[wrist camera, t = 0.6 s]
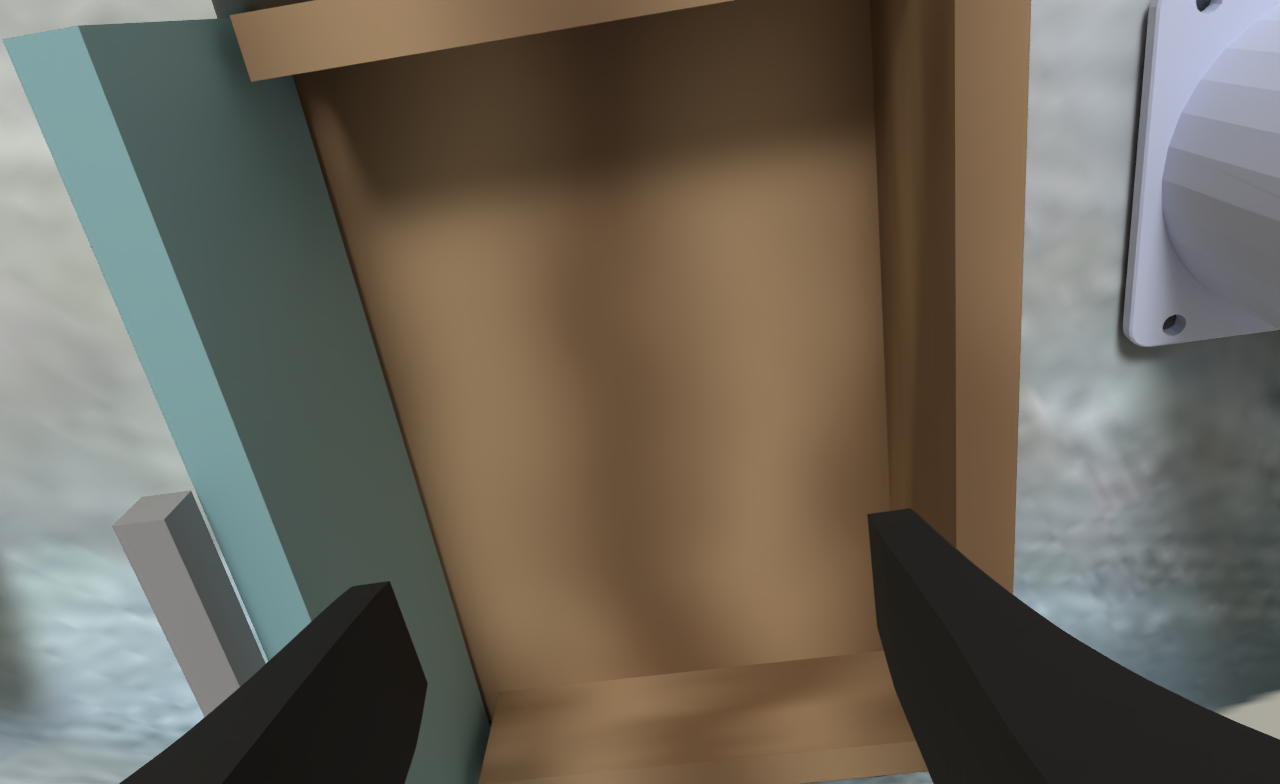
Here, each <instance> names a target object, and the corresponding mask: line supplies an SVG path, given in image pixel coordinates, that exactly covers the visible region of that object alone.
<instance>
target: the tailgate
mask: <svg viewBox="0 0 1280 784" xmlns="http://www.w3.org/2000/svg"><path fill="white" fill-rule="evenodd" d="M2 40H3V42H4V45H5V47H6V49H7V52H8V54H9V56H10V59H11V61H12V63H13V66H14V68H15V70H16V73H17V75H18V77H19V80H20V82H21V84H22V87H23V89H24V91H25V94H26V96H27V98H28V101H29V103H30V105H31V108H32V110H33V112H34V115H35V117H36V119H37V122H38V124H39V126H40V129H41V131H42V133H43V136H44V138H45V140H46V143H47V145H48V147H49V150H50V152H51V154H52V157H53V159H54V161H55V164H56V166H57V168H58V171H59V173H60V175H61V178H62V180H63V182H64V185H65V187H66V189H67V192H68V194H69V196H70V199H71V201H72V203H73V206H74V208H75V210H76V213H77V215H78V217H79V220H80V222H81V224H82V227H83V229H84V231H85V234H86V236H87V238H88V241H89V243H90V245H91V248H92V250H93V252H94V255H95V257H96V259H97V262H98V264H99V266H100V269H101V271H102V273H103V276H104V278H105V280H106V283H107V285H108V287H109V290H110V292H111V294H112V297H113V299H114V301H115V304H116V306H117V308H118V311H119V313H120V315H121V318H122V320H123V322H124V325H125V327H126V329H127V332H128V334H129V336H130V339H131V341H132V343H133V346H134V348H135V350H136V353H137V355H138V357H139V360H140V362H141V364H142V367H143V369H144V371H145V374H146V376H147V378H148V381H149V383H150V385H151V388H152V390H153V392H154V395H155V397H156V399H157V402H158V404H159V406H160V409H161V411H162V414H163V416H164V418H165V421H166V423H167V425H168V428H169V430H170V432H171V435H172V437H173V439H174V442H175V444H176V446H177V449H178V451H179V453H180V456H181V458H182V460H183V463H184V465H185V467H186V470H187V472H188V474H189V477H190V479H191V481H192V484H193V486H194V488H195V491H196V493H197V495H198V498H199V500H200V502H201V505H202V507H203V509H204V512H205V514H206V516H207V519H208V521H209V523H210V526H211V528H212V530H213V533H214V535H215V537H216V540H217V542H218V544H219V547H220V549H221V551H222V554H223V556H224V558H225V561H226V563H227V565H228V568H229V570H230V572H231V575H232V577H233V579H234V582H235V584H236V586H237V589H238V591H239V593H240V596H241V598H242V600H243V603H244V605H245V607H246V610H247V612H248V614H249V617H250V619H251V621H252V624H253V626H254V628H255V631H256V633H257V635H258V638H259V640H260V642H261V645H262V647H263V649H264V652H265V654H266V656H267V659H268V661H269V660H271V659H272V658H273V657H274V656H275V655H276V654H277V653H278V652H279V651H280V650H281V649H282V648H284V647H285V646H286V645H287V644H288V643H289V642H290V641H291V640H292V639H293V638H294V637H295V636H296V635H298V634H299V633H300V632H301V631H302V630H303V629H304V628H305V627H306V626H307V625H308V624H309V623H310V622H312V621H313V620H314V619H315V618H316V617H317V616H318V615H319V614H320V613H321V612H322V611H323V610H325V609H326V608H327V607H328V606H329V605H330V604H331V603H332V602H334V601H335V600H336V599H337V598H338V597H339V596H340V595H342V594H343V593H344V592H345V591H347V590H348V589H349V588H350V587H352V586H358V585H365V584H372V583H379V582H386V581H390V583H391V585H392V588H393V591H394V593H395V596H396V599H397V601H398V604H399V607H400V610H401V612H402V615H403V618H404V620H405V623H406V626H407V628H408V631H409V634H410V637H411V639H412V642H413V645H414V647H415V650H416V653H417V655H418V658H419V661H420V663H421V666H422V669H423V672H424V674H425V677H426V680H427V682H428V686H427V692H426V698H425V704H424V710H423V716H422V721H421V726H420V731H419V736H418V741H417V746H416V749H415V752H414V756H413V759H412V762H411V765H410V768H409V772H408V775H407V778H406V781H405V784H478V783H479V779H480V774H481V770H482V765H483V761H484V757H485V752H486V748H487V743H488V739H489V734H490V730H491V728H490V725H489V722H488V718H487V715H486V712H485V708H484V705H483V702H482V698H481V695H480V692H479V689H478V685H477V682H476V679H475V675H474V672H473V669H472V666H471V662H470V659H469V656H468V652H467V649H466V646H465V642H464V639H463V636H462V633H461V629H460V626H459V623H458V619H457V616H456V613H455V610H454V606H453V603H452V600H451V596H450V593H449V590H448V586H447V583H446V580H445V577H444V573H443V570H442V567H441V563H440V560H439V557H438V554H437V550H436V547H435V544H434V540H433V537H432V534H431V530H430V527H429V524H428V521H427V517H426V514H425V511H424V507H423V504H422V501H421V498H420V494H419V491H418V488H417V484H416V481H415V478H414V474H413V471H412V468H411V465H410V461H409V458H408V455H407V451H406V448H405V445H404V442H403V438H402V435H401V432H400V428H399V425H398V422H397V419H396V415H395V412H394V409H393V405H392V402H391V399H390V395H389V392H388V389H387V386H386V382H385V379H384V376H383V372H382V369H381V366H380V363H379V359H378V356H377V353H376V349H375V346H374V343H373V339H372V336H371V333H370V330H369V326H368V323H367V320H366V316H365V313H364V310H363V307H362V303H361V300H360V297H359V293H358V290H357V287H356V283H355V280H354V277H353V274H352V270H351V267H350V264H349V260H348V257H347V254H346V251H345V247H344V244H343V241H342V237H341V234H340V231H339V227H338V224H337V221H336V218H335V214H334V211H333V208H332V204H331V201H330V198H329V195H328V191H327V188H326V185H325V181H324V178H323V175H322V171H321V168H320V165H319V162H318V158H317V155H316V152H315V148H314V145H313V142H312V139H311V135H310V132H309V129H308V125H307V122H306V119H305V115H304V112H303V109H302V106H301V102H300V99H299V96H298V92H297V89H296V86H295V83H294V79H293V76H292V75H288V76H282V77H277V78H271V79H265V80H259V81H253V82H251V80H250V77H249V74H248V71H247V68H246V65H245V61H244V58H243V55H242V52H241V49H240V46H239V43H238V40H237V37H236V34H235V31H234V27H233V24H232V21H231V18H226V19H206V20H186V21H166V22H146V23H125V24H105V25H85V26H74V27H69V28H63V29H57V30H52V31H46V32H40V33H35V34H29V35H24V36H18V37H12V38H7V39H2ZM112 527H113V529H114V531H115V533H116V535H117V537H118V539H119V541H120V543H121V545H122V547H123V549H124V551H125V554H126V556H127V558H128V560H129V562H130V564H131V566H132V568H133V570H134V572H135V574H136V576H137V578H138V580H139V582H140V584H141V587H142V589H143V591H144V593H145V595H146V597H147V599H148V601H149V603H150V605H151V607H152V609H153V611H154V613H155V615H156V618H157V620H158V622H159V624H160V626H161V628H162V630H163V632H164V634H165V636H166V638H167V640H168V642H169V644H170V646H171V648H172V651H173V653H174V655H175V657H176V659H177V661H178V663H179V665H180V667H181V669H182V671H183V673H184V675H185V677H186V679H187V682H188V684H189V686H190V688H191V690H192V692H193V694H194V696H195V698H196V700H197V702H198V704H199V706H200V708H201V710H202V712H203V715H204V717H206V716H207V715H208V714H209V713H210V712H212V711H213V710H214V709H215V708H216V707H217V706H219V705H220V704H221V703H222V702H223V701H224V700H226V699H227V698H228V697H229V696H230V695H231V694H233V693H234V692H235V691H236V690H237V689H238V688H240V687H241V686H242V685H243V684H244V683H245V682H246V681H248V680H249V679H250V678H251V677H252V676H253V675H254V674H255V673H256V672H258V671H259V670H260V669H261V668H262V667H263V666H264V665H265V661H264V659H263V657H262V654H261V652H260V650H259V648H258V645H257V643H256V641H255V638H254V636H253V634H252V631H251V629H250V627H249V624H248V622H247V620H246V617H245V615H244V613H243V610H242V608H241V606H240V603H239V601H238V599H237V596H236V594H235V592H234V589H233V587H232V585H231V583H230V580H229V578H228V576H227V573H226V571H225V569H224V566H223V564H222V562H221V559H220V557H219V555H218V552H217V550H216V548H215V545H214V543H213V541H212V538H211V536H210V534H209V531H208V529H207V527H206V524H205V522H204V520H203V518H202V515H201V513H200V511H199V508H198V506H197V504H196V501H195V499H194V497H193V494H192V492H191V491H185V492H178V493H170V494H162V495H155V496H147V497H142V498H141V499H140V500H138V501H137V502H136V503H135V504H134V505H133V506H132V507H131V508H130V509H129V510H128V511H127V512H126V513H125V514H124V515H123V516H122V517H121V518H120V519H119V520H118V521H117V522H116V523H115V524H114V525H113V526H112Z"/></svg>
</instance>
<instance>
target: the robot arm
mask: <svg viewBox="0 0 1280 784" xmlns="http://www.w3.org/2000/svg"><path fill="white" fill-rule="evenodd" d="M1175 314H1176V315H1177V319H1176V322H1175V324H1174V325H1173V326H1171V327H1170V328H1168V329H1165V330H1163V324H1164V321H1165V320H1166V319H1167V318H1169V317H1170V316H1173V315H1175ZM1275 330H1280V0H1211V2H1210V4H1209V5H1208V6H1207V8H1206V9H1205V10H1203V11H1201V12H1200V11H1199V10H1198V9H1197V5H1196V0H1151V2H1150V5H1149V13H1148V26H1147V38H1146V50H1145V62H1144V74H1143V86H1142V98H1141V110H1140V123H1139V135H1138V147H1137V159H1136V171H1135V183H1134V195H1133V207H1132V219H1131V232H1130V244H1129V256H1128V268H1127V280H1126V292H1125V304H1124V316H1123V332H1124V334H1125V336H1126V337H1127V338H1128V339H1129V340H1130V341H1131V342H1133V343H1134V344H1136V345H1138V346H1140V347H1154V346H1162V345H1169V344H1177V343H1184V342H1192V341H1200V340H1207V339H1215V338H1222V337H1230V336H1237V335H1245V334H1253V333H1260V332H1268V331H1275ZM867 517H868V528H869V540H870V551H871V563H872V574H873V586H874V598H875V609H876V621H877V628H878V632H879V635H880V639H881V643H882V646H883V650H884V653H885V657H886V661H887V664H888V668H889V671H890V675H891V678H892V682H893V685H894V688H895V691H896V694H897V696H898V698H899V701H900V703H901V706H902V708H903V711H904V713H905V716H906V718H907V721H908V723H909V725H910V728H911V730H912V733H913V735H914V738H915V740H916V742H917V745H918V747H919V750H920V752H921V754H922V757H923V759H924V762H925V764H926V766H927V769H928V771H929V774H930V776H931V778H932V781H933V783H934V784H1280V740H1279V739H1277V738H1274V737H1272V736H1269V735H1267V734H1264V733H1262V732H1259V731H1257V730H1255V729H1252V728H1250V727H1247V726H1245V725H1242V724H1240V723H1237V722H1235V721H1233V720H1231V719H1228V718H1226V717H1224V716H1222V715H1220V714H1217V713H1215V712H1213V711H1211V710H1208V709H1206V708H1204V707H1202V706H1200V705H1198V704H1196V703H1194V702H1192V701H1190V700H1188V699H1185V698H1183V697H1181V696H1179V695H1177V694H1175V693H1173V692H1171V691H1169V690H1167V689H1165V688H1163V687H1161V686H1159V685H1157V684H1155V683H1153V682H1151V681H1149V680H1147V679H1145V678H1143V677H1142V676H1140V675H1138V674H1136V673H1134V672H1132V671H1130V670H1129V669H1127V668H1125V667H1123V666H1121V665H1120V664H1118V663H1116V662H1114V661H1113V660H1111V659H1109V658H1108V657H1106V656H1104V655H1103V654H1101V653H1099V652H1097V651H1096V650H1094V649H1092V648H1091V647H1089V646H1087V645H1086V644H1084V643H1082V642H1080V641H1079V640H1077V639H1076V638H1074V637H1072V636H1071V635H1069V634H1068V633H1066V632H1065V631H1063V630H1062V629H1060V628H1059V627H1057V626H1056V625H1054V624H1053V623H1051V622H1050V621H1049V620H1047V619H1046V618H1044V617H1043V616H1041V615H1040V614H1039V613H1037V612H1036V611H1034V610H1033V609H1031V608H1030V607H1029V606H1027V605H1026V604H1025V603H1023V602H1022V601H1021V600H1019V599H1018V598H1017V597H1015V596H1014V595H1013V594H1011V593H1010V592H1009V591H1008V590H1006V589H1005V588H1004V587H1003V586H1001V585H1000V584H999V583H997V582H996V581H995V580H994V579H992V578H991V577H990V576H989V575H987V574H986V573H985V572H984V571H982V570H981V569H980V568H979V567H977V566H976V565H975V564H974V563H973V562H972V561H970V560H969V559H968V558H967V557H966V556H964V555H963V554H962V553H961V552H960V551H959V550H958V549H956V548H955V547H954V546H953V545H952V544H951V543H950V542H948V541H947V540H946V539H945V538H944V537H943V536H942V535H941V534H939V533H938V532H937V531H936V530H935V529H934V528H933V527H932V526H931V525H930V524H929V523H927V522H926V521H925V520H924V519H923V518H922V517H921V516H920V515H919V514H917V513H916V512H915V511H913V510H912V509H911V508H907V509H900V510H893V511H886V512H879V513H872V514H867ZM427 686H428V682H427V680H426V677H425V674H424V672H423V669H422V666H421V663H420V661H419V658H418V655H417V653H416V650H415V647H414V645H413V642H412V639H411V637H410V634H409V631H408V628H407V626H406V623H405V620H404V618H403V615H402V612H401V610H400V607H399V604H398V601H397V599H396V596H395V593H394V591H393V588H392V585H391V583H390V581H386V582H379V583H372V584H365V585H358V586H352V587H350V588H349V589H348V590H347V591H345V592H344V593H343V594H342V595H340V596H339V597H338V598H337V599H336V600H335V601H334V602H332V603H331V604H330V605H329V606H328V607H327V608H326V609H325V610H323V611H322V612H321V613H320V614H319V615H318V616H317V617H316V618H315V619H314V620H313V621H312V622H310V623H309V624H308V625H307V626H306V627H305V628H304V629H303V630H302V631H301V632H300V633H299V634H298V635H296V636H295V637H294V638H293V639H292V640H291V641H290V642H289V643H288V644H287V645H286V646H285V647H284V648H282V649H281V650H280V651H279V652H278V653H277V654H276V655H275V656H274V657H273V658H272V659H271V660H269V661H268V662H267V663H266V664H265V665H264V666H263V667H262V668H261V669H260V670H259V671H258V672H256V673H255V674H254V675H253V676H252V677H251V678H250V679H249V680H248V681H246V682H245V683H244V684H243V685H242V686H241V687H240V688H238V689H237V690H236V691H235V692H234V693H233V694H231V695H230V696H229V697H228V698H227V699H226V700H224V701H223V702H222V703H221V704H220V705H219V706H217V707H216V708H215V709H214V710H213V711H212V712H210V713H209V714H208V715H207V716H206V717H205V718H203V719H202V720H201V721H200V722H199V723H198V724H196V725H195V726H194V727H193V728H192V729H191V730H189V731H188V732H187V733H186V734H184V735H183V736H182V737H181V738H179V739H178V740H177V741H176V742H174V743H173V744H172V745H170V746H169V747H168V748H167V749H165V750H164V751H163V752H161V753H160V754H159V755H157V756H156V757H155V758H153V759H152V760H151V761H149V762H148V763H147V764H145V765H144V766H143V767H141V768H140V769H139V770H137V771H136V772H134V773H133V774H132V775H130V776H129V777H128V778H126V779H125V780H124V781H122V782H121V783H119V784H405V781H406V778H407V775H408V772H409V768H410V765H411V762H412V759H413V756H414V752H415V749H416V746H417V741H418V736H419V731H420V726H421V721H422V716H423V710H424V704H425V698H426V692H427Z"/></svg>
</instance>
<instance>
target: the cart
mask: <svg viewBox="0 0 1280 784" xmlns="http://www.w3.org/2000/svg"><path fill="white" fill-rule="evenodd" d="M212 3H213V6H214V9H215V12H216V15H217V18H218V19H226V18H231V21H232V24H233V27H234V31H235V34H236V37H237V40H238V43H239V46H240V49H241V52H242V55H243V58H244V61H245V65H246V68H247V71H248V74H249V77H250V80H251V82H253V81H259V80H265V79H271V78H277V77H282V76H288V75H292V76H293V79H294V83H295V86H296V89H297V92H298V96H299V99H300V102H301V106H302V109H303V112H304V115H305V119H306V122H307V125H308V129H309V132H310V135H311V139H312V142H313V145H314V148H315V152H316V155H317V158H318V162H319V165H320V168H321V171H322V175H323V178H324V181H325V185H326V188H327V191H328V195H329V198H330V201H331V204H332V208H333V211H334V214H335V218H336V221H337V224H338V227H339V231H340V234H341V237H342V241H343V244H344V247H345V251H346V254H347V257H348V260H349V264H350V267H351V270H352V274H353V277H354V280H355V283H356V287H357V290H358V293H359V297H360V300H361V303H362V307H363V310H364V313H365V316H366V320H367V323H368V326H369V330H370V333H371V336H372V339H373V343H374V346H375V349H376V353H377V356H378V359H379V363H380V366H381V369H382V372H383V376H384V379H385V382H386V386H387V389H388V392H389V395H390V399H391V402H392V405H393V409H394V412H395V415H396V419H397V422H398V425H399V428H400V432H401V435H402V438H403V442H404V445H405V448H406V451H407V455H408V458H409V461H410V465H411V468H412V471H413V474H414V478H415V481H416V484H417V488H418V491H419V494H420V498H421V501H422V504H423V507H424V511H425V514H426V517H427V521H428V524H429V527H430V530H431V534H432V537H433V540H434V544H435V547H436V550H437V554H438V557H439V560H440V563H441V567H442V570H443V573H444V577H445V580H446V583H447V586H448V590H449V593H450V596H451V600H452V603H453V606H454V610H455V613H456V616H457V619H458V623H459V626H460V629H461V633H462V636H463V639H464V642H465V646H466V649H467V652H468V656H469V659H470V662H471V666H472V669H473V672H474V675H475V679H476V682H477V685H478V689H479V692H480V695H481V698H482V702H483V705H484V708H485V712H486V715H487V718H488V722H489V725H490V728H491V730H490V734H489V739H488V743H487V748H486V752H485V757H484V761H483V765H482V770H481V774H480V779H479V783H478V784H801V783H811V782H822V781H832V780H842V779H853V778H863V777H880V776H887V775H894V774H905V773H915V772H925V771H928V769H927V766H926V764H925V762H924V759H923V757H922V754H921V752H920V750H919V747H918V745H917V742H916V740H915V738H914V735H913V733H912V730H911V728H910V725H909V723H908V721H907V718H906V716H905V713H904V711H903V708H902V706H901V703H900V701H899V698H898V696H897V694H896V691H895V688H894V685H893V682H892V678H891V675H890V671H889V668H888V664H887V661H886V657H885V653H884V650H883V646H882V643H881V639H880V635H879V632H878V628H877V621H876V609H875V598H874V586H873V574H872V563H871V551H870V540H869V528H868V517H867V514H872V513H879V512H886V511H893V510H900V509H907V508H911V509H912V510H913V511H915V512H916V513H917V514H919V515H920V516H921V517H922V518H923V519H924V520H925V521H926V522H927V523H929V524H930V525H931V526H932V527H933V528H934V529H935V530H936V531H937V532H938V533H939V534H941V535H942V536H943V537H944V538H945V539H946V540H947V541H948V542H950V543H951V544H952V545H953V546H954V547H955V548H956V549H958V550H959V551H960V552H961V553H962V554H963V555H964V556H966V557H967V558H968V559H969V560H970V561H972V562H973V563H974V564H975V565H976V566H977V567H979V568H980V569H981V570H982V571H984V572H985V573H986V574H987V575H989V576H990V577H991V578H992V579H994V580H995V581H996V582H997V583H999V584H1000V585H1001V586H1003V587H1004V588H1005V589H1006V590H1008V591H1009V592H1010V593H1011V594H1013V577H1014V544H1015V511H1016V479H1017V446H1018V413H1019V380H1020V348H1021V315H1022V282H1023V249H1024V217H1025V184H1026V151H1027V118H1028V86H1029V53H1030V20H1031V0H212Z"/></svg>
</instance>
